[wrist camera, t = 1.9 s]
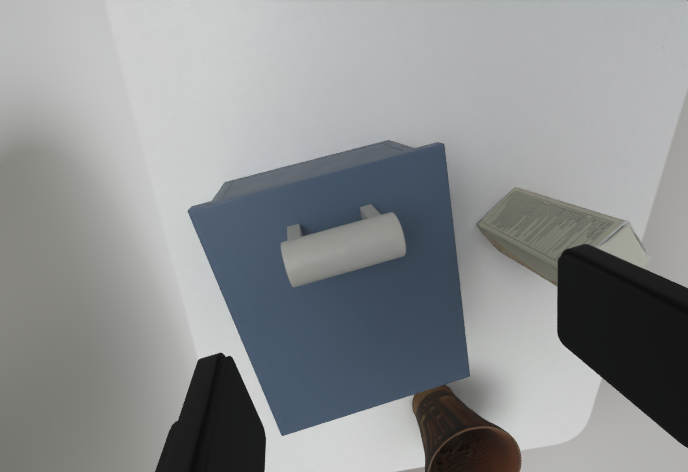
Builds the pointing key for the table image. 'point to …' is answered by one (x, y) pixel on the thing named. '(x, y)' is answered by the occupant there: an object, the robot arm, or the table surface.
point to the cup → (461, 436)
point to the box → (555, 232)
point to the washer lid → (343, 284)
